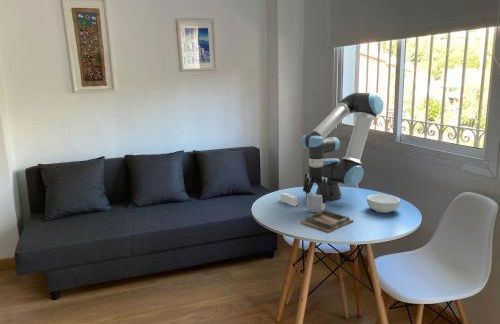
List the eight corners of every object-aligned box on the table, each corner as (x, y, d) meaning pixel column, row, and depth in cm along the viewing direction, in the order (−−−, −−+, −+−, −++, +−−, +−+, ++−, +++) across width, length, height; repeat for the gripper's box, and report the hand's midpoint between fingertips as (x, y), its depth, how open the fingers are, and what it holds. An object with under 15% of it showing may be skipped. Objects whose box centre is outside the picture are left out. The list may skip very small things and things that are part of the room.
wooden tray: (325, 213, 215) (326, 208, 214) (353, 221, 202) (353, 216, 202) (300, 223, 202) (301, 218, 201) (328, 232, 189) (328, 227, 189)
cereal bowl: (401, 217, 208) (402, 203, 206) (367, 215, 211) (368, 202, 209) (396, 206, 224) (397, 194, 222) (365, 205, 227) (366, 192, 226)
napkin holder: (277, 201, 239) (276, 191, 238) (295, 200, 240) (295, 190, 239) (281, 209, 224) (281, 199, 223) (301, 208, 226) (301, 198, 224)
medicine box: (324, 210, 218) (324, 195, 216) (321, 213, 214) (322, 197, 212) (309, 208, 221) (310, 193, 219) (307, 211, 217) (307, 196, 215)
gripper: (295, 163, 217) (296, 203, 222) (328, 170, 202) (327, 213, 207) (305, 161, 222) (305, 200, 227) (337, 167, 206) (336, 209, 211)
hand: (315, 206), depth 217 cm, fingers closed on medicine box, 9 cm apart
